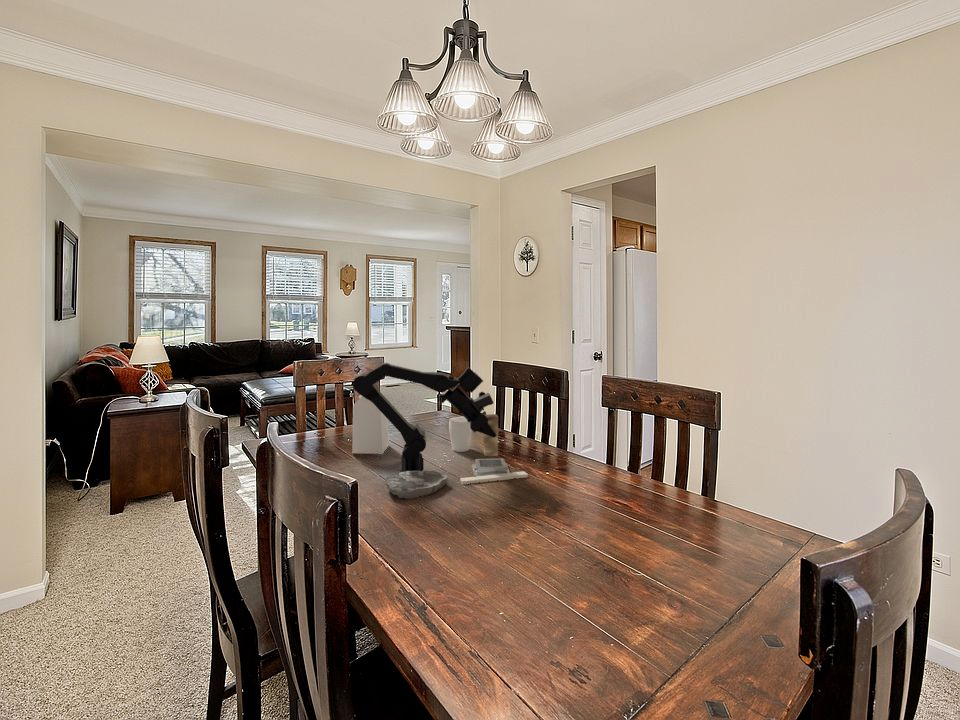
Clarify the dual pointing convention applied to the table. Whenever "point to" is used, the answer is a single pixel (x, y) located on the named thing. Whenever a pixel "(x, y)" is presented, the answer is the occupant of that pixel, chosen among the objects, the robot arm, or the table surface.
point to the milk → (369, 428)
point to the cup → (460, 434)
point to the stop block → (491, 442)
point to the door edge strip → (493, 477)
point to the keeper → (489, 467)
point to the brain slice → (415, 483)
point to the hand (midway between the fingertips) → (494, 434)
